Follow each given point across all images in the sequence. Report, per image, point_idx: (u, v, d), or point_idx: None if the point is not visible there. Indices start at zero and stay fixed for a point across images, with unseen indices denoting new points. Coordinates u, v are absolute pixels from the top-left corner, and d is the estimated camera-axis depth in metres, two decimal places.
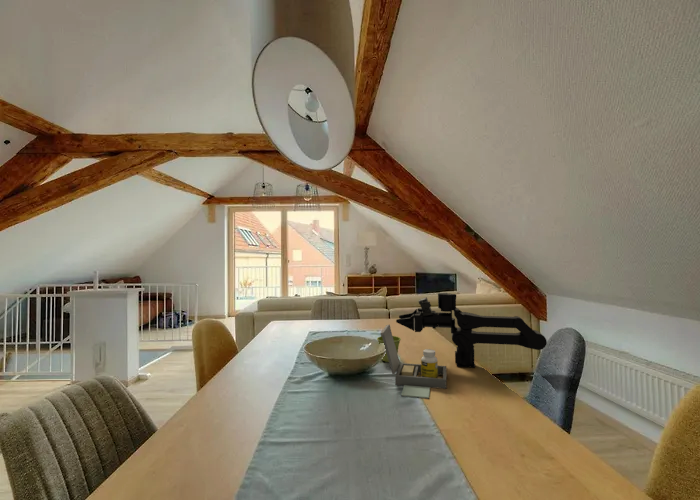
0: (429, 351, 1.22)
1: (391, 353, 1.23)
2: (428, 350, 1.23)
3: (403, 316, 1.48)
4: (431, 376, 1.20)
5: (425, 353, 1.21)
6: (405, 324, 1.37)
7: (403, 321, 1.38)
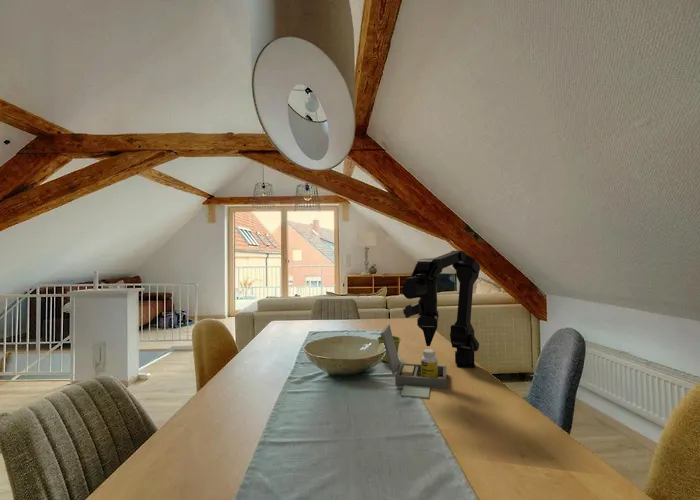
0: (429, 351, 1.22)
1: (391, 353, 1.23)
2: (428, 350, 1.23)
3: None
4: (431, 376, 1.20)
5: (425, 353, 1.21)
6: (431, 335, 1.17)
7: (427, 337, 1.17)
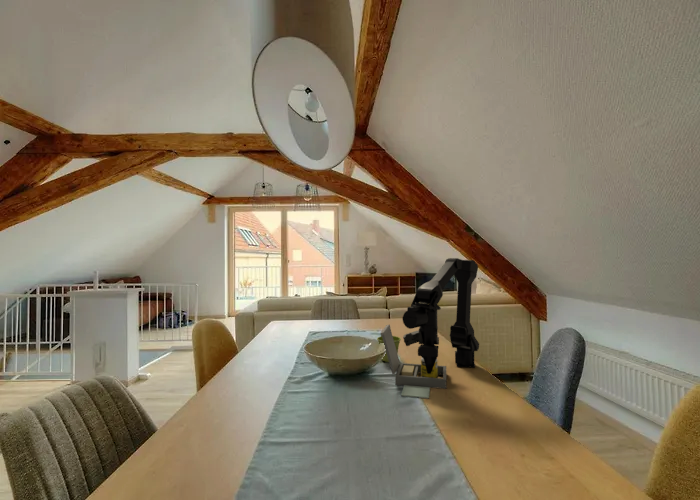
0: None
1: (391, 353, 1.23)
2: None
3: None
4: (431, 376, 1.20)
5: None
6: (431, 363, 1.18)
7: (428, 365, 1.19)
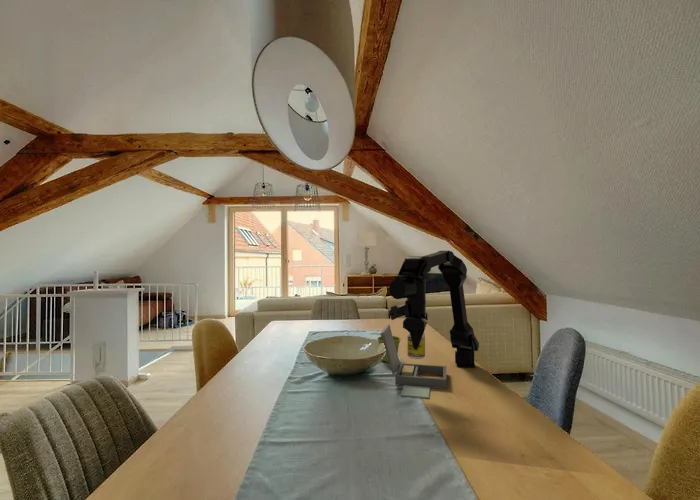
0: None
1: (391, 353, 1.23)
2: None
3: None
4: (418, 352, 1.10)
5: None
6: (418, 338, 1.09)
7: (415, 340, 1.09)
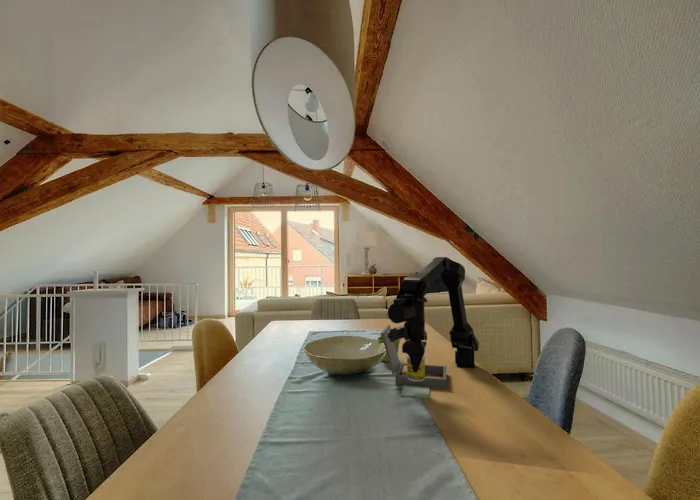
0: None
1: (391, 353, 1.23)
2: None
3: None
4: (417, 375, 1.09)
5: None
6: (418, 361, 1.08)
7: (414, 363, 1.08)
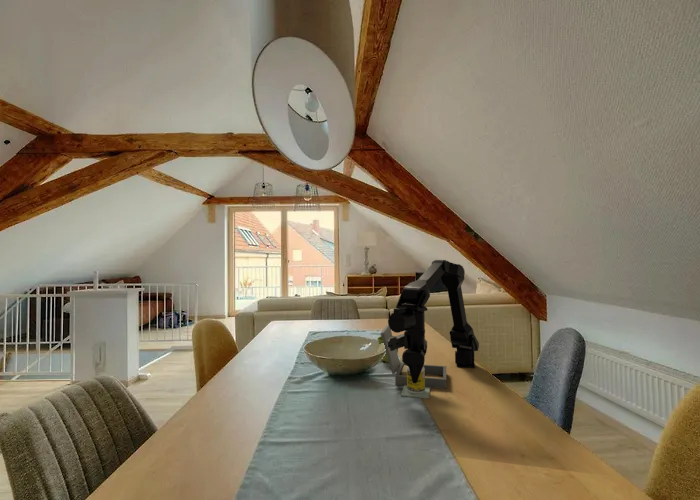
0: None
1: (391, 353, 1.23)
2: None
3: None
4: (418, 387, 1.09)
5: None
6: (417, 372, 1.06)
7: (414, 374, 1.06)
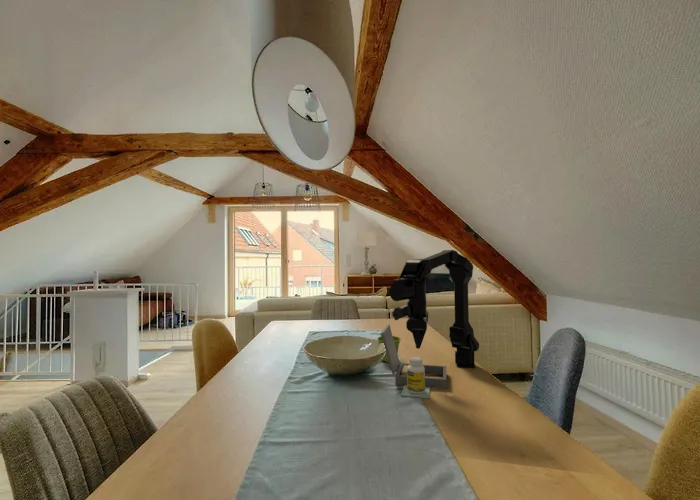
0: (416, 359, 1.11)
1: (391, 353, 1.23)
2: (415, 358, 1.12)
3: None
4: (418, 387, 1.09)
5: (411, 362, 1.10)
6: (420, 338, 1.15)
7: (417, 340, 1.15)
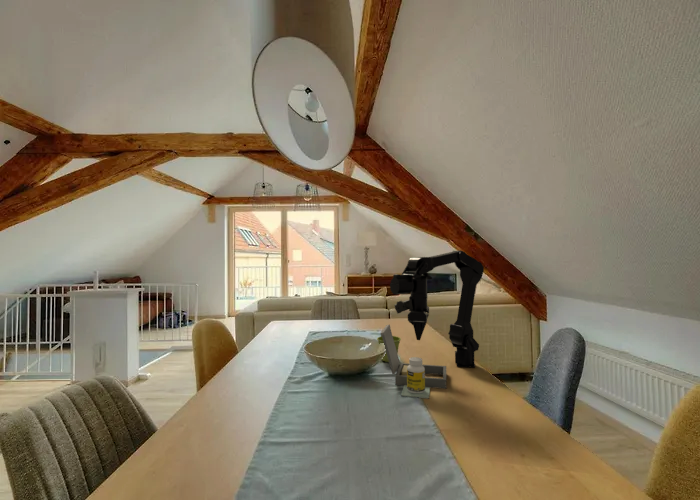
0: (416, 359, 1.11)
1: (391, 353, 1.23)
2: (415, 358, 1.12)
3: None
4: (418, 387, 1.09)
5: (411, 362, 1.10)
6: (421, 330, 1.22)
7: (417, 332, 1.23)
